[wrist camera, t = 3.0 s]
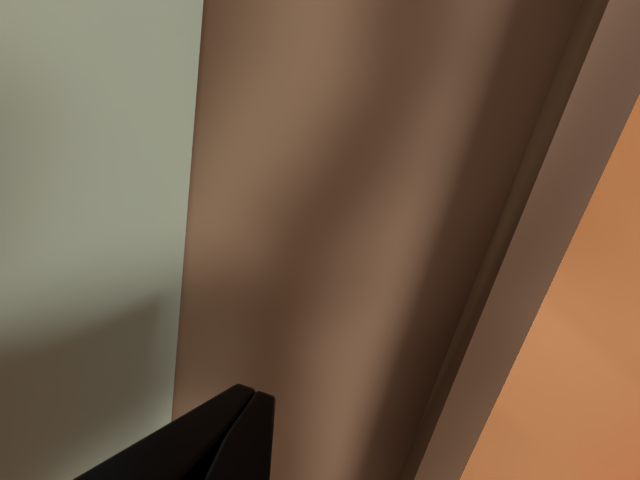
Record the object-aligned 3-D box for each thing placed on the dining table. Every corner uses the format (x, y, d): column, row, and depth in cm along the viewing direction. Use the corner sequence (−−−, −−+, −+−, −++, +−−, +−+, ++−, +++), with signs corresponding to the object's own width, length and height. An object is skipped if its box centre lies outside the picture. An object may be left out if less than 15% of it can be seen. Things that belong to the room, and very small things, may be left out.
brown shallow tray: (699, -179, 9) (828, -313, 6) (391, 555, 19) (383, 641, 16) (205, -223, 11) (122, -339, 8) (160, 460, 21) (115, 520, 18)
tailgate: (218, -191, 10) (-368, -975, 3) (166, 474, 19) (-3, 715, 11) (153, -198, 10) (-528, -916, 3) (133, 460, 19) (-53, 685, 12)
